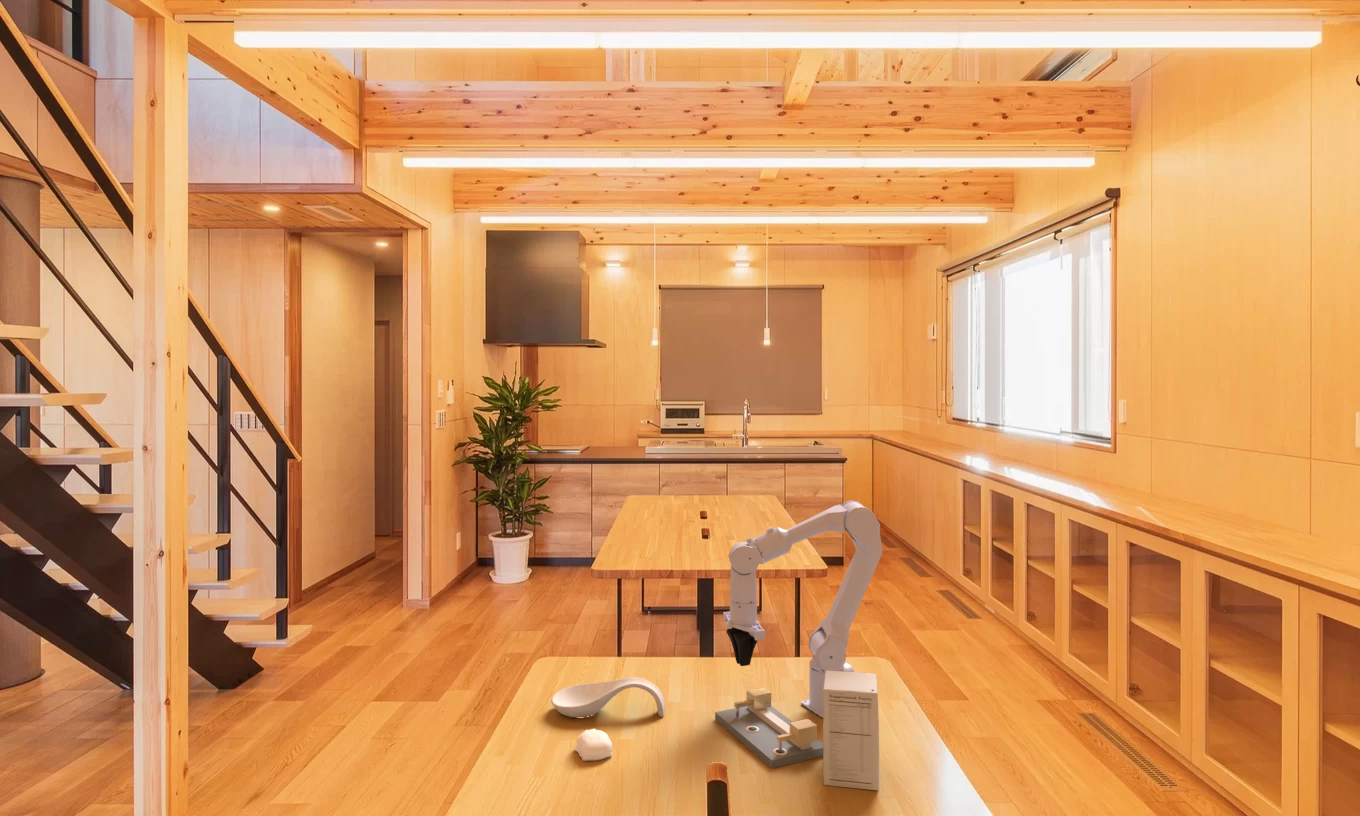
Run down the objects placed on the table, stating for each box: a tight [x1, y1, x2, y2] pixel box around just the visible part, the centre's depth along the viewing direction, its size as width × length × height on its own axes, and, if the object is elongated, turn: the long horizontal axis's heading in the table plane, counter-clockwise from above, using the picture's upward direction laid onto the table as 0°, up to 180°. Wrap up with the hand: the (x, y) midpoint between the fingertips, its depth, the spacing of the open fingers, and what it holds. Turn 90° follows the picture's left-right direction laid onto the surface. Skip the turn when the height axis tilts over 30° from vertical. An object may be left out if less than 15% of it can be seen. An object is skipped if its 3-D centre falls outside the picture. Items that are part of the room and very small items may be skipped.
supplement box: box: [822, 670, 880, 791], centre depth 133 cm, size 10×9×17 cm
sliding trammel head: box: [734, 687, 772, 717], centre depth 154 cm, size 8×3×4 cm, turn 115°
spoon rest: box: [551, 676, 666, 719], centre depth 159 cm, size 24×12×7 cm, turn 89°
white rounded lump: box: [574, 728, 613, 762], centre depth 141 cm, size 8×7×4 cm
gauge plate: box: [714, 705, 823, 769], centre depth 148 cm, size 12×22×6 cm, turn 25°
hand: (743, 663), depth 161 cm, fingers closed
